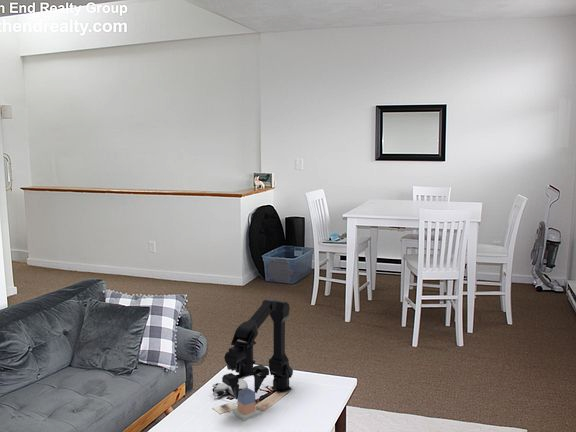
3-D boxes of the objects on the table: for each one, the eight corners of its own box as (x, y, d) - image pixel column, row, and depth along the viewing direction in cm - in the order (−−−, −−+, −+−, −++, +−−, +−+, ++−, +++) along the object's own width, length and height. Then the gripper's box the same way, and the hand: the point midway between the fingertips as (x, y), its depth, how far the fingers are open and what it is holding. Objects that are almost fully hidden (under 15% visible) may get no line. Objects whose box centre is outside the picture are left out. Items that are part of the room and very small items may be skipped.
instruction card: (231, 402, 237) (231, 401, 236) (239, 407, 232) (239, 407, 232) (212, 408, 231) (212, 407, 231) (219, 414, 226) (219, 413, 226)
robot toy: (213, 403, 238) (249, 397, 241) (212, 392, 238) (248, 387, 240) (212, 390, 250) (246, 385, 253) (211, 380, 250) (245, 375, 252)
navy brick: (248, 397, 230) (247, 387, 229) (255, 401, 226) (255, 392, 225) (237, 400, 226) (237, 391, 226) (244, 405, 223) (244, 395, 222)
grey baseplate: (249, 407, 232) (249, 404, 232) (260, 414, 226) (260, 411, 226) (232, 412, 228) (232, 410, 227) (243, 420, 221) (243, 417, 221)
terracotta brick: (248, 406, 230) (248, 397, 230) (255, 411, 226) (255, 401, 226) (237, 410, 227) (237, 400, 227) (244, 415, 223) (244, 405, 223)
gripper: (254, 346, 236) (254, 382, 238) (214, 357, 224) (215, 394, 227) (269, 354, 227) (269, 392, 229) (229, 365, 216) (230, 405, 218)
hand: (246, 395), depth 226 cm, fingers open, 9 cm apart
